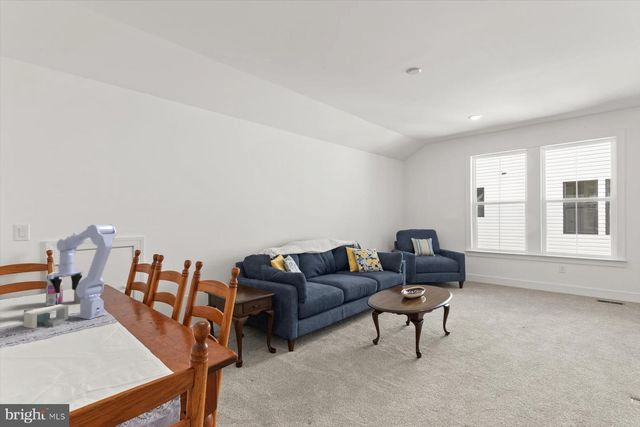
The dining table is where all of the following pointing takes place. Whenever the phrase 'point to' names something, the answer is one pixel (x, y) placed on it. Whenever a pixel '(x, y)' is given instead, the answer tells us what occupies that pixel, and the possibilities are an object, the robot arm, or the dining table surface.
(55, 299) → the candy bar box
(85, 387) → the dining table surface
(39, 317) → the slat blade
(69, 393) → the dining table surface
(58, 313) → the plinth shelf
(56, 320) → the steel token
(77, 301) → the cup
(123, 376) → the dining table surface
